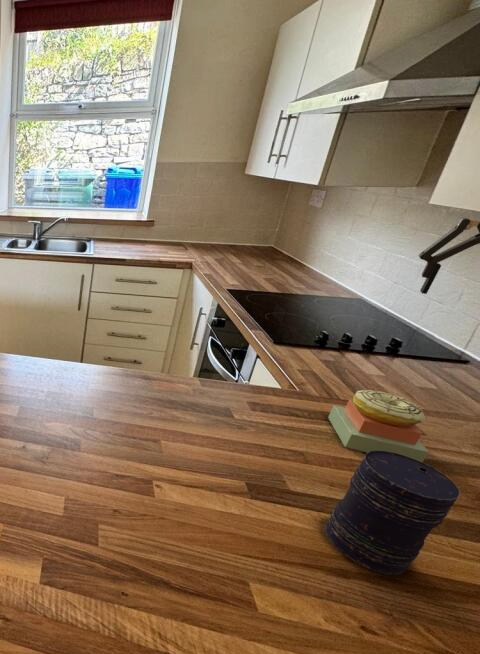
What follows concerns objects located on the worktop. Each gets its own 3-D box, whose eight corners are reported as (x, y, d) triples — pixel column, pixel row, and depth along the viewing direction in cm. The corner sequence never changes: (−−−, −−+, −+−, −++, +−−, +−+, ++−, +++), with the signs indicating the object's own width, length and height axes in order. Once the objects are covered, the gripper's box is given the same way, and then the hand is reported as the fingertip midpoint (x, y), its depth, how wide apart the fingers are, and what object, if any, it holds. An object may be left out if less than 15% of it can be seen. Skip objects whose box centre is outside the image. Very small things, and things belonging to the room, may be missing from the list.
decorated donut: (434, 431, 80) (444, 416, 79) (379, 429, 81) (388, 413, 79) (386, 401, 90) (394, 387, 88) (338, 400, 90) (345, 385, 88)
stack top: (395, 421, 88) (402, 409, 87) (415, 445, 81) (422, 433, 80) (344, 410, 92) (349, 399, 91) (358, 432, 84) (364, 420, 83)
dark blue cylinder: (378, 583, 58) (431, 507, 51) (309, 526, 66) (347, 456, 60) (424, 565, 60) (479, 492, 54) (351, 514, 69) (392, 445, 63)
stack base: (394, 432, 90) (401, 419, 89) (420, 465, 81) (429, 452, 79) (327, 417, 95) (333, 405, 94) (345, 447, 85) (351, 434, 84)
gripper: (437, 192, 83) (390, 290, 92) (649, 203, 68) (568, 319, 77) (432, 190, 88) (387, 283, 97) (627, 201, 73) (554, 309, 82)
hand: (467, 299), depth 87 cm, fingers open, 13 cm apart
